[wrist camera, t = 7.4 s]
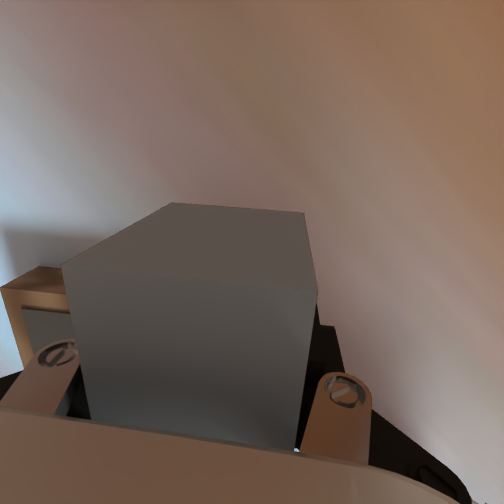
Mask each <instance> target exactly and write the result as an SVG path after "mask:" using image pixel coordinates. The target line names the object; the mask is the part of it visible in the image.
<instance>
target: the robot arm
mask: <svg viewBox="0 0 504 504" xmlns="http://www.w3.org/2000/svg"><path fill="white" fill-rule="evenodd" d="M371 408H372V397H371V393H370V391H369V389H368V387H367V386H366V385H365V384H364V383H363V382H362V381H360V380H359V379H357V378H356V377H354V376H352V375H349V374H347V373H345V370H344V366H343V361H342V357H341V353H340V348H339V344H338V340H337V335H336V331H335V328H334V327H333V326H326V325H320V321H319V315H318V308H317V302H316V308H315V315H314V322H313V328H312V335H311V342H310V348H309V355H308V361H307V368H306V375H305V381H304V388H303V395H302V401H301V408H300V415H299V421H298V428H297V434H296V441H295V448H297V449H298V450H299V452H296V451H290V450H284V449H278V448H271V447H265V446H259V445H252V444H246V443H239V442H233V441H227V440H220V439H214V438H208V437H201V436H195V435H188V434H181V433H175V432H168V431H162V430H155V429H148V428H142V427H135V426H128V425H121V424H115V423H108V422H101V421H94V420H91V416H90V411H89V406H88V401H87V396H86V391H85V386H84V380H83V375H82V370H81V365H80V360H79V355H78V350H77V345H76V340H75V339H64V340H59V341H56V342H53V343H51V344H48V345H46V346H44V347H43V348H41V349H40V350H38V352H37V353H36V354H35V355H34V356H33V357H32V358H31V360H30V361H29V363H28V364H27V365H26V367H25V368H24V369H23V370H22V371H20V372H17V373H14V374H11V375H8V376H5V377H2V378H0V504H478V503H477V502H475V501H474V500H472V499H471V497H470V495H469V493H468V491H467V489H466V487H465V485H464V484H463V483H462V482H461V480H460V479H459V478H458V476H457V475H456V474H454V473H453V472H452V471H451V470H450V469H449V468H448V467H447V466H445V465H444V464H443V463H441V462H440V461H439V460H437V459H436V458H435V457H434V456H432V455H431V454H430V453H428V452H427V451H426V450H424V449H423V448H422V447H421V446H419V445H418V444H417V443H415V442H414V441H413V440H411V439H410V438H409V437H408V436H406V435H405V434H404V433H402V432H401V431H400V430H398V429H397V428H396V427H395V426H393V425H392V424H391V423H389V422H388V421H387V420H385V419H384V418H383V417H382V416H380V415H379V414H378V413H376V412H375V411H374V410H372V409H371ZM485 504H487V503H486V502H485Z"/></svg>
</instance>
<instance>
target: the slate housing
mask: <svg viewBox="0 0 504 504" xmlns="http://www.w3.org/2000/svg"><path fill="white" fill-rule="evenodd" d="M61 269H62V274H63V279H64V285H65V290H66V295H67V300H68V305H69V310H70V315H71V320H72V325H73V330H74V335H75V340H76V345H77V350H78V355H79V360H80V365H81V370H82V375H83V380H84V386H85V391H86V396H87V401H88V406H89V411H90V416H91V420H94V421H101V422H108V423H115V424H121V425H128V426H135V427H142V428H148V429H155V430H162V431H168V432H175V433H181V434H188V435H195V436H201V437H208V438H214V439H220V440H227V441H233V442H239V443H246V444H252V445H259V446H265V447H271V448H278V449H284V450H290V451H294V448H295V441H296V434H297V428H298V421H299V415H300V408H301V401H302V395H303V388H304V381H305V375H306V368H307V361H308V355H309V348H310V342H311V335H312V328H313V322H314V315H315V308H316V302H317V295H318V288H317V282H316V277H315V271H314V266H313V260H312V255H311V249H310V244H309V238H308V233H307V227H306V222H305V216H304V213H301V212H288V211H275V210H262V209H250V208H237V207H224V206H212V205H199V204H186V203H174V202H172V203H170V204H168V205H166V206H165V207H163V208H161V209H159V210H157V211H156V212H154V213H152V214H150V215H149V216H147V217H145V218H143V219H141V220H140V221H138V222H136V223H134V224H132V225H131V226H129V227H127V228H125V229H124V230H122V231H120V232H118V233H116V234H115V235H113V236H111V237H109V238H108V239H106V240H104V241H102V242H100V243H99V244H97V245H95V246H93V247H91V248H90V249H88V250H86V251H84V252H83V253H81V254H79V255H77V256H75V257H74V258H72V259H70V260H68V261H66V262H65V263H63V264H61Z"/></svg>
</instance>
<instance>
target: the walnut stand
mask: <svg viewBox="0 0 504 504" xmlns="http://www.w3.org/2000/svg"><path fill="white" fill-rule="evenodd" d="M0 291H1V294H2V298H3V301H4V304H5V308H6V311H7V314H8V317H9V321H10V324H11V327H12V331H13V334H14V337H15V340H16V344H17V347H18V350H19V354H20V357H21V360H22V363H23V367H24V368H25V367H26V365H27V364H28V363H29V361H30V360H31V358H32V357H33V356H34V355H35V354H36V353H37V352H38V350H40V349H41V348H43V347H44V346H46V345H48V344H51V343H53V342H56V341H59V340H64V339H75V335H74V330H73V325H72V320H71V315H70V310H69V305H68V300H67V295H66V290H65V285H64V279H63V274H62V269H59V268H49V267H39V266H38V267H37V268H35V269H33V270H31V271H29V272H27V273H26V274H24V275H22V276H20V277H18V278H16V279H14V280H13V281H11V282H9V283H7V284H5V285H3V286H1V287H0Z"/></svg>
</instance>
